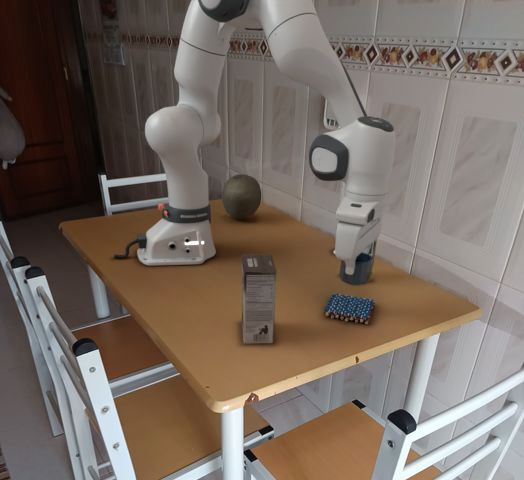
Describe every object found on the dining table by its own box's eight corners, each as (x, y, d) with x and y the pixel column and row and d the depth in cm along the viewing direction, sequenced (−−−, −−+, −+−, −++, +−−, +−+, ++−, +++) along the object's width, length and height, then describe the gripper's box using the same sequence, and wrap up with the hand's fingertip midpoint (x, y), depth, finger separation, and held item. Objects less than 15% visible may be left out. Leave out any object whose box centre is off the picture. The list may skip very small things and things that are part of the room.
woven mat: (369, 326, 109) (370, 318, 108) (322, 317, 112) (323, 309, 111) (375, 306, 118) (376, 298, 116) (332, 299, 120) (332, 291, 119)
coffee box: (240, 323, 109) (241, 253, 100) (269, 322, 109) (272, 253, 101) (242, 344, 101) (243, 271, 92) (274, 343, 102) (277, 271, 93)
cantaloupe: (213, 218, 173) (212, 174, 165) (243, 211, 181) (244, 168, 173) (239, 228, 164) (239, 182, 156) (270, 220, 172) (271, 176, 164)
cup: (348, 287, 107) (351, 264, 104) (334, 275, 112) (336, 253, 109) (374, 283, 109) (378, 260, 106) (360, 272, 114) (363, 250, 111)
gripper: (365, 191, 111) (357, 250, 118) (332, 213, 95) (325, 279, 102) (393, 195, 108) (383, 255, 115) (363, 219, 93) (354, 286, 100)
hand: (356, 267), depth 109 cm, fingers closed on cup, 7 cm apart
